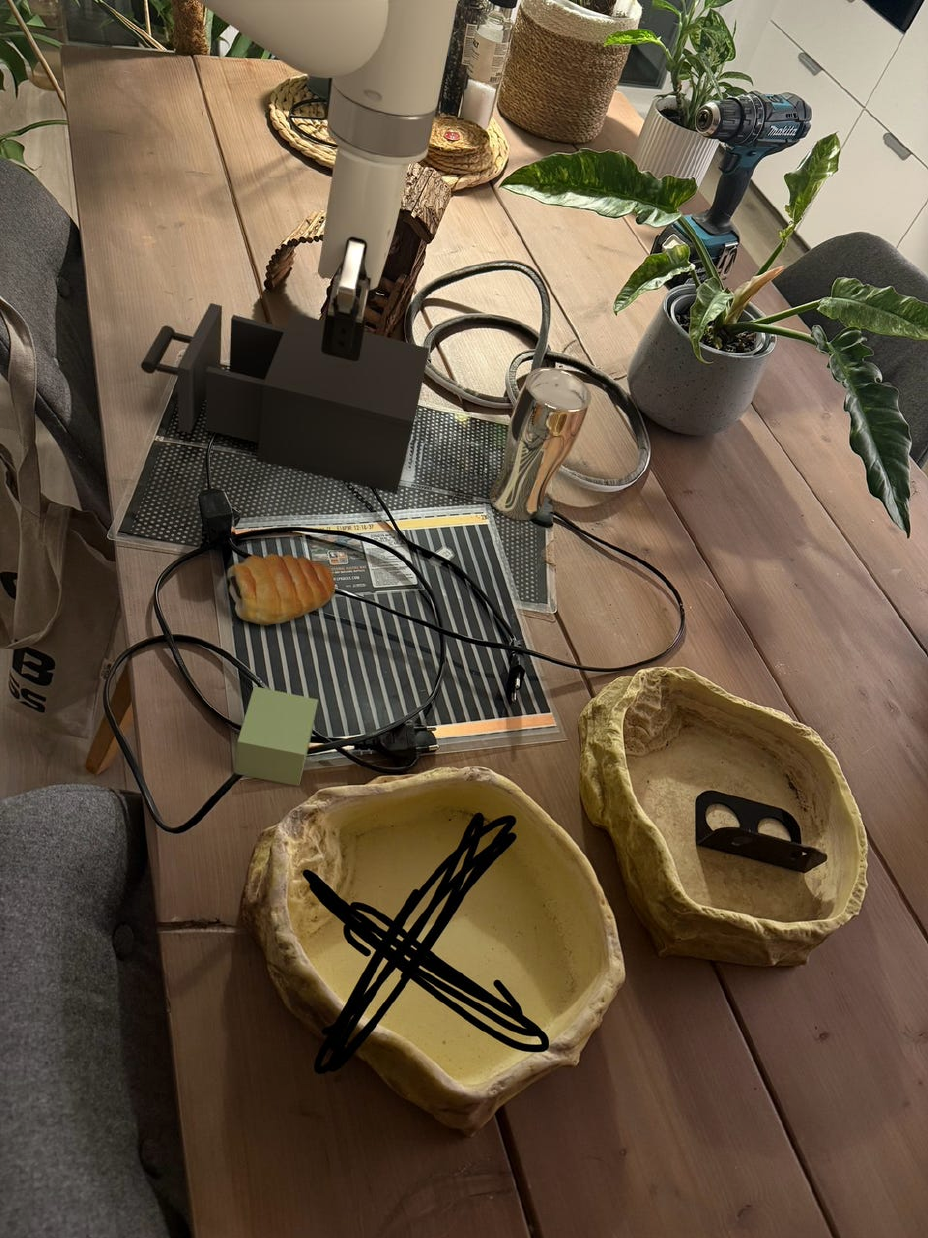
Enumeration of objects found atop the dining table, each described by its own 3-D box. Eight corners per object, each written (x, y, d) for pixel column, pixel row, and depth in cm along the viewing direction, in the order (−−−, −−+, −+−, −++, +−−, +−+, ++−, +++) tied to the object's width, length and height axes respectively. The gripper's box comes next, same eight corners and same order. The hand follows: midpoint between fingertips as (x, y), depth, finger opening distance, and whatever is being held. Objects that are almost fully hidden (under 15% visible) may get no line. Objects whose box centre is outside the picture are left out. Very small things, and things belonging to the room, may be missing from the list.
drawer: (134, 420, 88) (130, 354, 82) (169, 355, 95) (168, 291, 90) (310, 462, 90) (318, 401, 84) (331, 396, 98) (340, 336, 92)
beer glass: (493, 524, 92) (535, 411, 81) (477, 478, 96) (515, 363, 85) (554, 523, 94) (603, 413, 83) (536, 478, 98) (580, 367, 87)
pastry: (320, 561, 83) (325, 533, 81) (344, 615, 80) (349, 589, 77) (221, 577, 79) (222, 549, 77) (242, 635, 76) (243, 608, 73)
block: (235, 774, 68) (237, 741, 64) (251, 720, 71) (254, 686, 67) (299, 786, 69) (305, 754, 65) (312, 732, 72) (318, 699, 68)
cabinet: (257, 460, 90) (262, 383, 83) (284, 387, 98) (291, 312, 91) (397, 493, 92) (414, 421, 84) (412, 419, 100) (429, 348, 92)
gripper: (348, 61, 69) (323, 262, 82) (307, 155, 58) (286, 371, 71) (441, 88, 70) (402, 283, 83) (419, 186, 59) (378, 393, 72)
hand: (349, 323), depth 77 cm, fingers open, 9 cm apart
